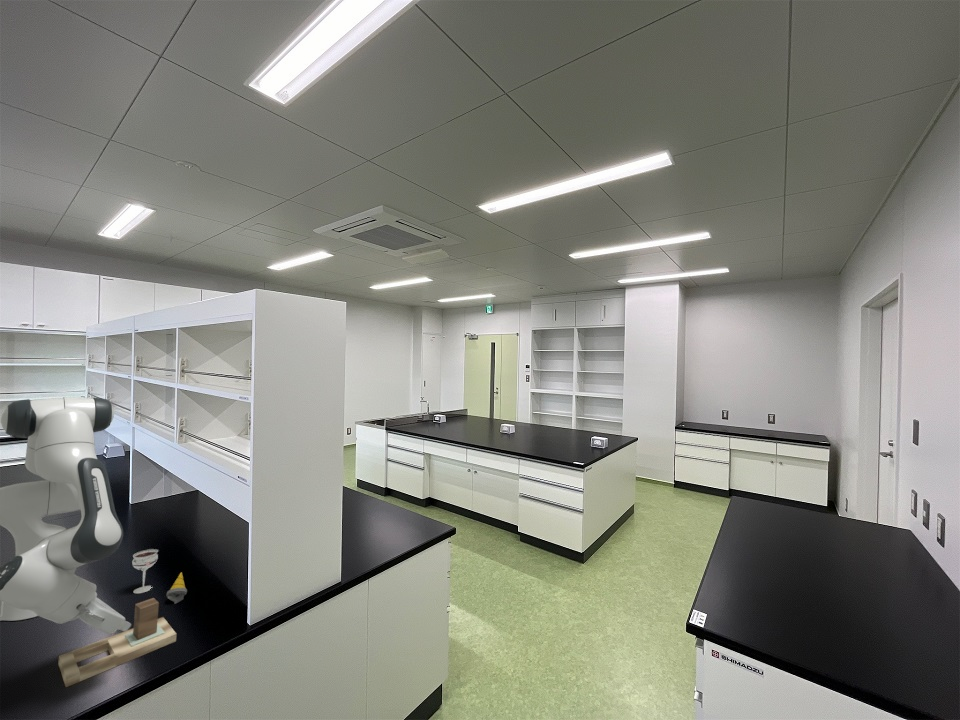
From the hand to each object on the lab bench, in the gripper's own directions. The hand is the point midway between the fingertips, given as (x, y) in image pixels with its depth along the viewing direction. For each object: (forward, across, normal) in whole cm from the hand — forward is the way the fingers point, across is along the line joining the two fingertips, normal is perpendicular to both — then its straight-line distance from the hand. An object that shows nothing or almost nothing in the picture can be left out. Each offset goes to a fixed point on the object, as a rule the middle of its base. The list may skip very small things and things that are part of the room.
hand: (119, 621), depth 102 cm
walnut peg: (+8, 0, 0) cm, 8 cm away
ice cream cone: (+20, +17, -8) cm, 28 cm away
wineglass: (+18, +33, -6) cm, 38 cm away
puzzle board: (+6, +1, +5) cm, 8 cm away
